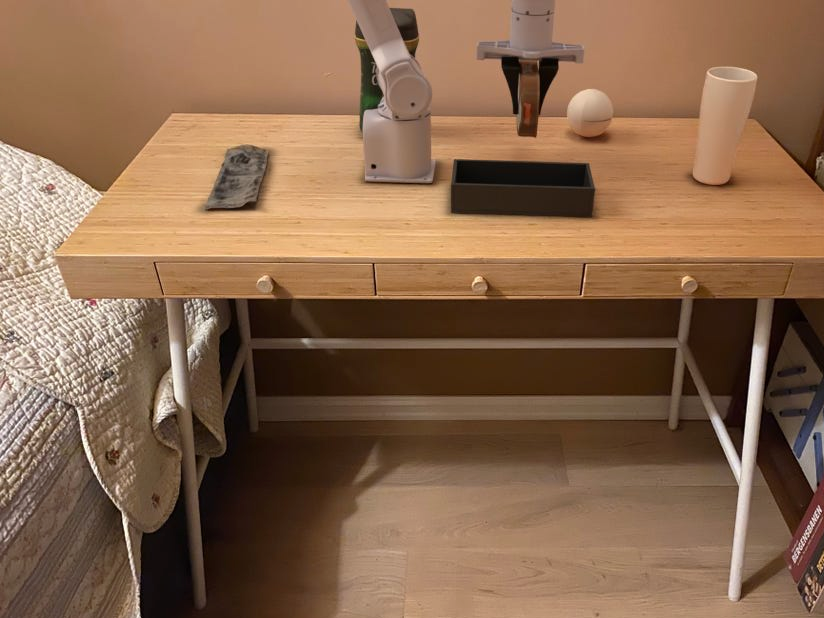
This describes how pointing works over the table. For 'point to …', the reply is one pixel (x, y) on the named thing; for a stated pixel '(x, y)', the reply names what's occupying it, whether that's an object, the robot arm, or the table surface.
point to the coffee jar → (369, 83)
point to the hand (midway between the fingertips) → (526, 112)
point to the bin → (522, 188)
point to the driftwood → (238, 177)
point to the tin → (528, 98)
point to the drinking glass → (722, 122)
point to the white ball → (590, 112)
